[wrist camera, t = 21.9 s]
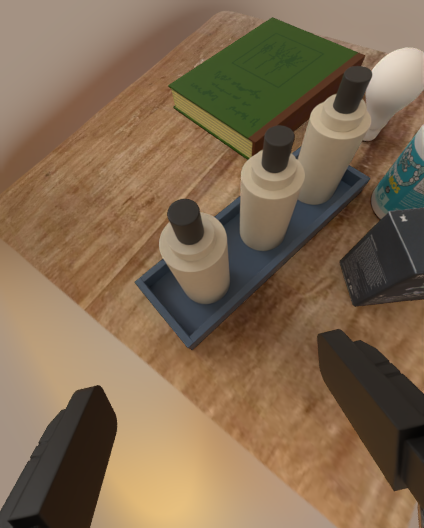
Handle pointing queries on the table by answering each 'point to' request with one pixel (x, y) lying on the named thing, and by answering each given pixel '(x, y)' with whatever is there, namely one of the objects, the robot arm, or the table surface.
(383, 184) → the pill bottle
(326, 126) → the row bottle
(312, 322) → the table surface
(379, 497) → the table surface
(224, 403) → the table surface
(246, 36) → the hardcover book
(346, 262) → the box
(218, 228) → the bottle
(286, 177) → the row bottle
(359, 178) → the tray
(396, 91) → the lightbulb
